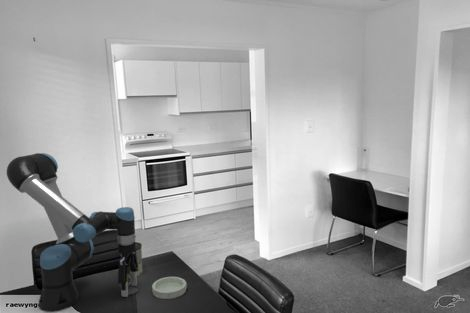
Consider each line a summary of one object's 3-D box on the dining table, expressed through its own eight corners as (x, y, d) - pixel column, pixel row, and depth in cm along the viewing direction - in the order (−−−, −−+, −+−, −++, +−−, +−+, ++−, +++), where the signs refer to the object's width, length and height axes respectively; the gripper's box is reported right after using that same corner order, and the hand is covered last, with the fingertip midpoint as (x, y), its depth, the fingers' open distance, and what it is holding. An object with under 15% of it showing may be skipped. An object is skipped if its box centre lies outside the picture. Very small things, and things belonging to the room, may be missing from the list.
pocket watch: (133, 296, 160) (132, 274, 159) (116, 294, 162) (114, 273, 161) (142, 287, 168) (141, 266, 167) (125, 286, 170) (124, 265, 169)
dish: (147, 298, 159) (147, 291, 158) (158, 282, 173) (158, 276, 173) (181, 300, 157) (181, 293, 156) (189, 283, 171) (189, 277, 171)
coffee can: (123, 279, 177) (122, 251, 175) (119, 271, 186) (118, 244, 184) (145, 274, 181) (143, 247, 180) (140, 266, 190) (138, 240, 189)
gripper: (124, 252, 151) (127, 303, 154) (144, 234, 173) (146, 279, 175) (107, 252, 152) (110, 303, 155) (128, 233, 173) (131, 279, 176)
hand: (129, 290), depth 165 cm, fingers open, 9 cm apart
